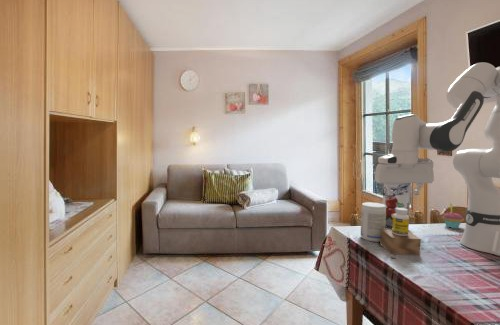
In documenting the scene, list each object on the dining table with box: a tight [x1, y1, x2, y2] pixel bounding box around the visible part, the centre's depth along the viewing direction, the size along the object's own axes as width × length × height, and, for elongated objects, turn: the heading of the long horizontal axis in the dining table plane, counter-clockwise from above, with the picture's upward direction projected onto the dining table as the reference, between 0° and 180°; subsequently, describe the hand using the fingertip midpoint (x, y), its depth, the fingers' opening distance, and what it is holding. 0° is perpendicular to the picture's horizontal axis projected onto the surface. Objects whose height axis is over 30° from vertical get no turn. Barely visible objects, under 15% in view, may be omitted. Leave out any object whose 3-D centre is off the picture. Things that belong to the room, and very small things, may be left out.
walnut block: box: [380, 228, 422, 256], centre depth 105 cm, size 10×10×6 cm
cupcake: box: [442, 203, 465, 229], centre depth 133 cm, size 9×8×12 cm
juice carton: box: [382, 183, 412, 229], centre depth 131 cm, size 9×10×27 cm
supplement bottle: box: [391, 208, 410, 236], centre depth 104 cm, size 5×5×10 cm
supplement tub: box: [360, 201, 386, 243], centre depth 115 cm, size 10×10×15 cm
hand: (403, 194), depth 103 cm, fingers open, 8 cm apart
